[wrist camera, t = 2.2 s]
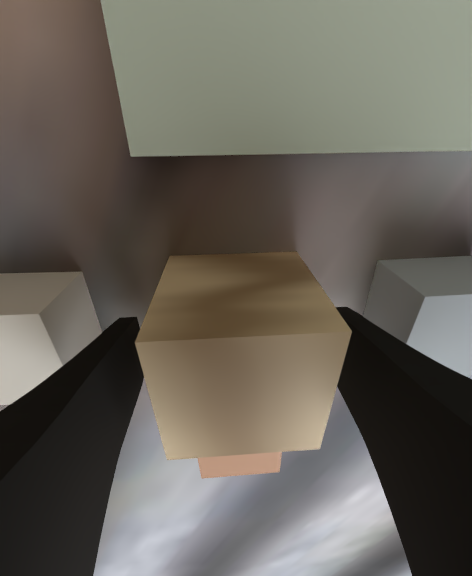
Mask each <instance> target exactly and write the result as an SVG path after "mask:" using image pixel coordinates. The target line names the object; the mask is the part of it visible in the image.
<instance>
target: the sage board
mask: <svg viewBox="0 0 472 576" xmlns="http://www.w3.org/2000/svg"><path fill="white" fill-rule="evenodd" d="M101 5H102V10H103V15H104V21H105V26H106V31H107V36H108V41H109V47H110V52H111V57H112V62H113V67H114V72H115V78H116V83H117V88H118V93H119V98H120V104H121V109H122V114H123V119H124V124H125V129H126V135H127V140H128V145H129V150H130V155H131V157H139V156H198V155H257V154H316V153H375V152H433V151H472V0H101Z"/></svg>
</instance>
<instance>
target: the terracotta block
mask: <svg viewBox="0 0 472 576" xmlns="http://www.w3.org/2000/svg"><path fill="white" fill-rule="evenodd" d="M281 454H282V452H272V453H258V454H244V455H230V456H217V457H203V458H198V462H199V467H200V473H201V478H213V477H225V476H237V475H249V474H261V473H274V472H280V463H281Z"/></svg>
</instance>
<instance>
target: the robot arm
mask: <svg viewBox="0 0 472 576" xmlns="http://www.w3.org/2000/svg"><path fill="white" fill-rule="evenodd" d="M335 308H336V309H337V310H338V312H339V313H340V315H341V316H342V318H343V319H344V321H345V322H346V323H347V325H348V326H349V328H350V329H351V331H352V334H351V337H350V341H349V344H348V348H347V352H346V355H345V359H344V363H343V366H342V370H341V373H340V377H339V381H338V384H337V386H338V389H339V391H340V393H341V395H342V396H343V398H344V400H345V402H346V404H347V406H348V408H349V410H350V412H351V414H352V416H353V418H354V420H355V422H356V424H357V426H358V428H359V430H360V432H361V435H362V437H363V439H364V441H365V443H366V446H367V448H368V451H369V454H370V456H371V459H372V461H373V464H374V466H375V469H376V471H377V474H378V477H379V479H380V482H381V485H382V488H383V490H384V493H385V496H386V498H387V501H388V504H389V507H390V509H391V512H392V515H393V518H394V521H395V524H396V527H397V530H398V533H399V536H400V539H401V542H402V545H403V548H404V551H405V554H406V557H407V560H408V563H409V567H410V570H411V573H412V576H472V379H470V378H468V377H466V376H464V375H462V374H460V373H458V372H456V371H454V370H452V369H450V368H448V367H446V366H444V365H442V364H440V363H438V362H437V361H435V360H433V359H431V358H430V357H428V356H426V355H424V354H423V353H421V352H419V351H417V350H416V349H414V348H412V347H410V346H409V345H407V344H405V343H404V342H402V341H401V340H399V339H397V338H396V337H394V336H393V335H391V334H389V333H388V332H386V331H385V330H383V329H382V328H380V327H378V326H377V325H375V324H374V323H372V322H371V321H369V320H368V319H366V318H364V317H363V316H361V315H360V314H358V313H356V312H355V311H353V310H351V309H350V308H348V307H335ZM139 331H140V328H139V324H138V320H137V317H126V318H119V319H118V320H116V321H115V322H114V323H113V324H112V325H110V326H109V327H108V328H107V329H106V330H105V331H104V332H102V333H101V334H100V335H99V336H98V337H97V338H96V339H94V340H93V341H92V342H91V343H90V344H89V345H87V346H86V347H85V348H84V349H83V350H81V351H80V352H79V353H78V354H77V355H76V356H74V357H73V358H72V359H71V360H69V361H68V362H67V363H66V364H64V365H63V366H62V367H61V368H59V369H58V370H57V371H56V372H54V373H53V374H52V375H50V376H49V377H48V378H47V379H45V380H44V381H43V382H41V383H40V384H39V385H37V386H36V387H35V388H33V389H32V390H31V391H29V392H28V393H26V394H25V395H24V396H22V397H21V398H19V399H18V400H16V401H15V402H13V403H12V404H10V405H9V406H7V407H6V408H5V409H3V410H2V411H0V576H93V573H94V568H95V563H96V558H97V553H98V547H99V542H100V537H101V532H102V527H103V523H104V518H105V513H106V509H107V504H108V499H109V495H110V491H111V486H112V482H113V478H114V473H115V469H116V465H117V461H118V457H119V454H120V451H121V447H122V444H123V441H124V438H125V435H126V432H127V429H128V426H129V423H130V420H131V417H132V414H133V411H134V408H135V405H136V402H137V399H138V396H139V393H140V390H141V386H142V383H143V378H144V374H143V370H142V367H141V363H140V360H139V356H138V352H137V349H136V345H135V341H136V338H137V336H138V333H139Z"/></svg>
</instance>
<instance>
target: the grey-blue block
mask: <svg viewBox="0 0 472 576" xmlns="http://www.w3.org/2000/svg"><path fill="white" fill-rule="evenodd" d="M363 317H364V318H366V319H368V320H369V321H371V322H372V323H374V324H375V325H377V326H378V327H380V328H382V329H383V330H385V331H386V332H388V333H389V334H391V335H393V336H394V337H396V338H397V339H399V340H401V341H402V342H404V343H405V344H407V345H409V346H410V347H412V348H414V349H416V350H417V351H419V352H421V353H423V354H424V355H426V356H428V357H430V358H431V359H433V360H435V361H437V362H438V363H440V364H442V365H444V366H446V367H448V368H450V369H452V370H454V371H456V372H458V373H460V374H462V375H464V376H466V377H469V376H472V256H454V257H434V258H415V259H395V260H378V262H377V265H376V269H375V273H374V276H373V280H372V284H371V287H370V291H369V295H368V298H367V302H366V306H365V309H364V313H363Z"/></svg>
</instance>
